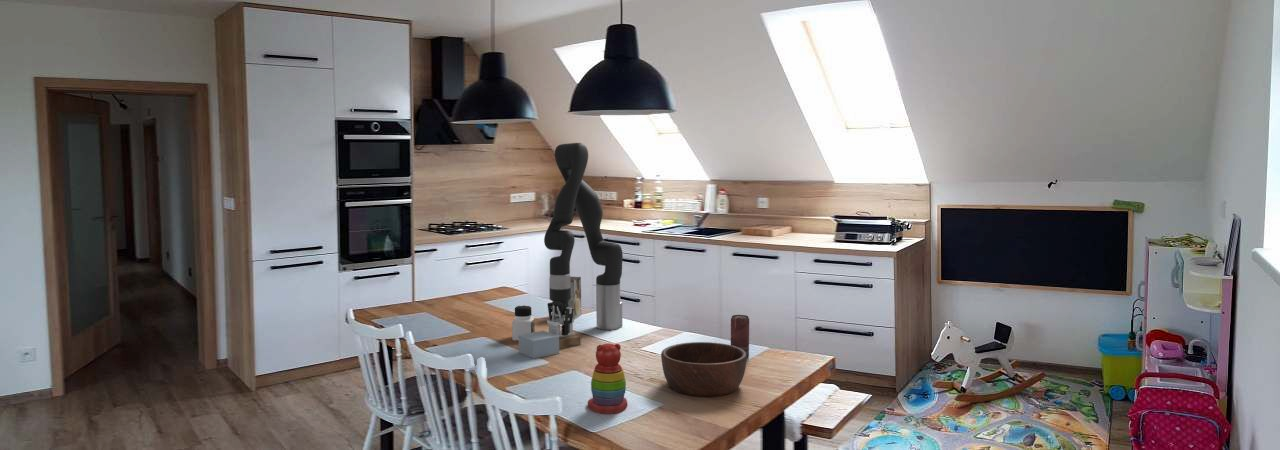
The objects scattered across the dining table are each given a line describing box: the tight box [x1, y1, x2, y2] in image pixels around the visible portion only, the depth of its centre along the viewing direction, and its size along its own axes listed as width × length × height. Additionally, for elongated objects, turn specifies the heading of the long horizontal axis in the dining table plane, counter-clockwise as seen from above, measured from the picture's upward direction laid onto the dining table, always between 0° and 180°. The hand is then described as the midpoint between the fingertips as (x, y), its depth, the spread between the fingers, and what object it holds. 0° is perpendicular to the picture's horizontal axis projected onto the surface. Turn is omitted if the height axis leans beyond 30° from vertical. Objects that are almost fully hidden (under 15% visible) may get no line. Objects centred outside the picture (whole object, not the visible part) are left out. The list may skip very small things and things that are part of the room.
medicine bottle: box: [511, 304, 536, 342], centre depth 286 cm, size 7×7×12 cm
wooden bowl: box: [660, 341, 748, 397], centre depth 229 cm, size 25×25×10 cm
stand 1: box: [518, 330, 560, 359], centre depth 267 cm, size 10×10×6 cm
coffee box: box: [562, 276, 582, 320], centre depth 321 cm, size 9×6×16 cm
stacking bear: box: [587, 343, 628, 415], centre depth 210 cm, size 11×10×18 cm
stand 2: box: [559, 334, 582, 350], centre depth 278 cm, size 10×10×3 cm
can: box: [730, 314, 750, 359], centre depth 259 cm, size 6×6×14 cm
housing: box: [546, 318, 575, 338], centre depth 278 cm, size 8×5×6 cm, turn 128°
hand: (560, 333), depth 278 cm, fingers closed on housing, 5 cm apart
